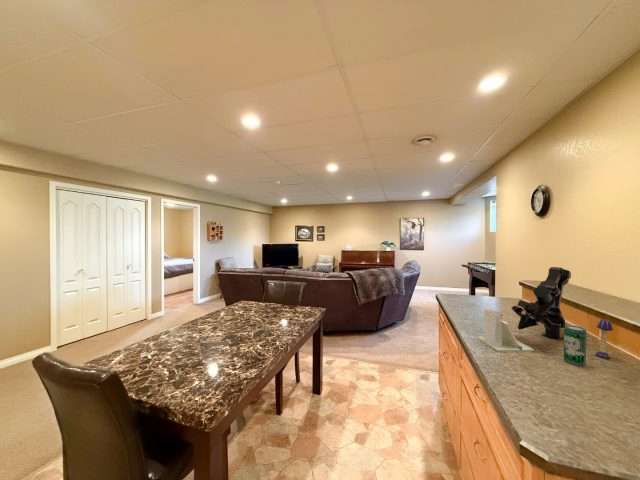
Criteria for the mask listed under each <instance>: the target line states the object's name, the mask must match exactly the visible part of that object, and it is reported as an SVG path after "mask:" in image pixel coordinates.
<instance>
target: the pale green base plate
mask: <svg viewBox="0 0 640 480" xmlns="http://www.w3.org/2000/svg"><path fill="white" fill-rule="evenodd" d="M477 338H478V339H477ZM476 339H477V340H479V341H480V342H482V343H483V344H485V345H486V346H487V347H489V348H490V349H493V351H495V352H496V353H535V349H534V348H532V347H530V346H528V345H526V344H524V343H523V342H521V341H519V340H517V342H518V344H519V345H520V346H519V347H517V346H515V345H514V344H512V343H510V342H508V341H507V340H505V339H503V338H502V347H495V346H494V345H492V344H491V343H489V342H488V341H486V340H484V335H482V336H480V335H479V336H476Z"/></svg>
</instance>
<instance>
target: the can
mask: <svg viewBox="0 0 640 480" xmlns="http://www.w3.org/2000/svg"><path fill="white" fill-rule="evenodd" d="M563 335H564V336H563V337H564V338H563V341H564V342H563V346H564V347H563V361H564V362H565V363H567V364H570V365H573V366H576V367H580V368H581V367H586V362H587V361H586V360H587V359H586V357H587V355H586V354H587V328H584V327H581V326H577V325H571V324H566V325H565V328H564V334H563Z"/></svg>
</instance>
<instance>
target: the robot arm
mask: <svg viewBox="0 0 640 480" xmlns="http://www.w3.org/2000/svg"><path fill="white" fill-rule="evenodd" d="M547 273H548V275H547V277H546V279H545V280H543V281H541V282H539V284H538V285H537V286H536V287H535V288H534V289H533V294H534V296H535V299H536V300H535V301H534V302H532V301H530V302H527V301H524V300H522V299H519V300H518V303H517V304H516V305H513V306H512V307H511V308H510V309H511V310H512V311H513V312H514V313H515V314H516V315H517V316H519V317H520V319H519V322H518V324H517V329H518V330H523V329H526V328H532V327H536V326H537V327H539V324H542V325H543V327H544V330H545V331H544V333H541V336H544V337H548V338H551V339H554V340H560V339H564V336H562V335H561V329H565V325H567V324H566V320H565V318H564V316H563V312H562V311H561V301H562V297H563V290H564V286H566V285H567V284H569V281H570V279H571V278H572V273H571V271H570V270H569V269H565V268H563V267H560V266H559V267H557V266H552V267H551V266H550V267H549V269H548V272H547Z"/></svg>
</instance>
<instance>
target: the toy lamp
mask: <svg viewBox="0 0 640 480" xmlns="http://www.w3.org/2000/svg"><path fill="white" fill-rule="evenodd" d="M596 328H597V329H600V330H601V332H600V333H601V335H600V346H599V348H600V349H599V351H597V352H595V356H597V357H599V358H602V359H606V360H609V359H611V358H610V355H609V354H608V353H607V351H606V350H607V342H608V341H607V340H608V332H612V331H613V330H614V328H613V325H612V321H611V320H609V319H606V318H600V319H599V321H598V323H597V325H596Z"/></svg>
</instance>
